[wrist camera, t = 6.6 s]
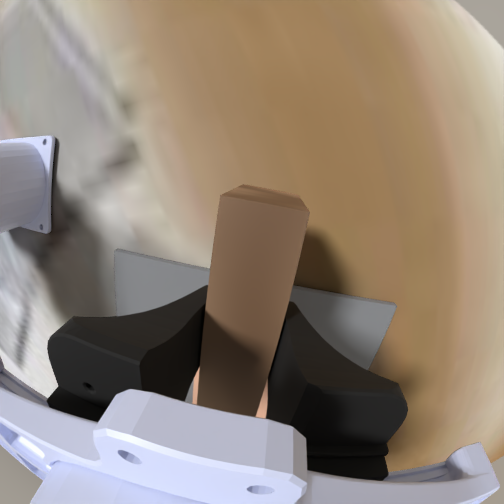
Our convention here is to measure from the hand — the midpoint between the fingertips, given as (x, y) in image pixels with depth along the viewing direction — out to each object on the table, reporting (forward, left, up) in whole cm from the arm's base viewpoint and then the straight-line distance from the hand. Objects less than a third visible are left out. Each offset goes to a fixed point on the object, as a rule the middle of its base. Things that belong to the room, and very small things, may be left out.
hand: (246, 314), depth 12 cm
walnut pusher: (0, 0, -2) cm, 2 cm away
